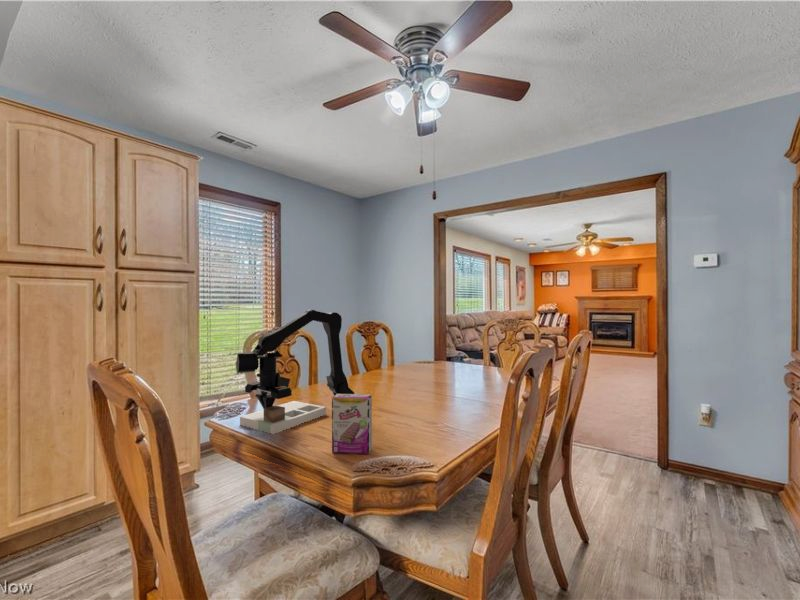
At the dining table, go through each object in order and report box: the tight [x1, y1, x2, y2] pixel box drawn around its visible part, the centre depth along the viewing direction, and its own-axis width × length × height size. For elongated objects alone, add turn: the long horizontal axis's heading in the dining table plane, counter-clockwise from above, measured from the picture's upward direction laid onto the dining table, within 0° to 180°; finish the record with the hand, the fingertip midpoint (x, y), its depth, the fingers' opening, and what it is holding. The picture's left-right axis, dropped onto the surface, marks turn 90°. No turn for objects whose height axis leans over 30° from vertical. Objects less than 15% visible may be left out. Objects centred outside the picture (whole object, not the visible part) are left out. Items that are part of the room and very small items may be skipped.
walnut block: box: [263, 404, 285, 423], centre depth 133 cm, size 5×5×4 cm
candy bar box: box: [331, 393, 373, 455], centre depth 112 cm, size 11×5×16 cm, turn 84°
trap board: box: [239, 400, 327, 435], centre depth 142 cm, size 18×25×3 cm
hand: (268, 414), depth 136 cm, fingers closed
